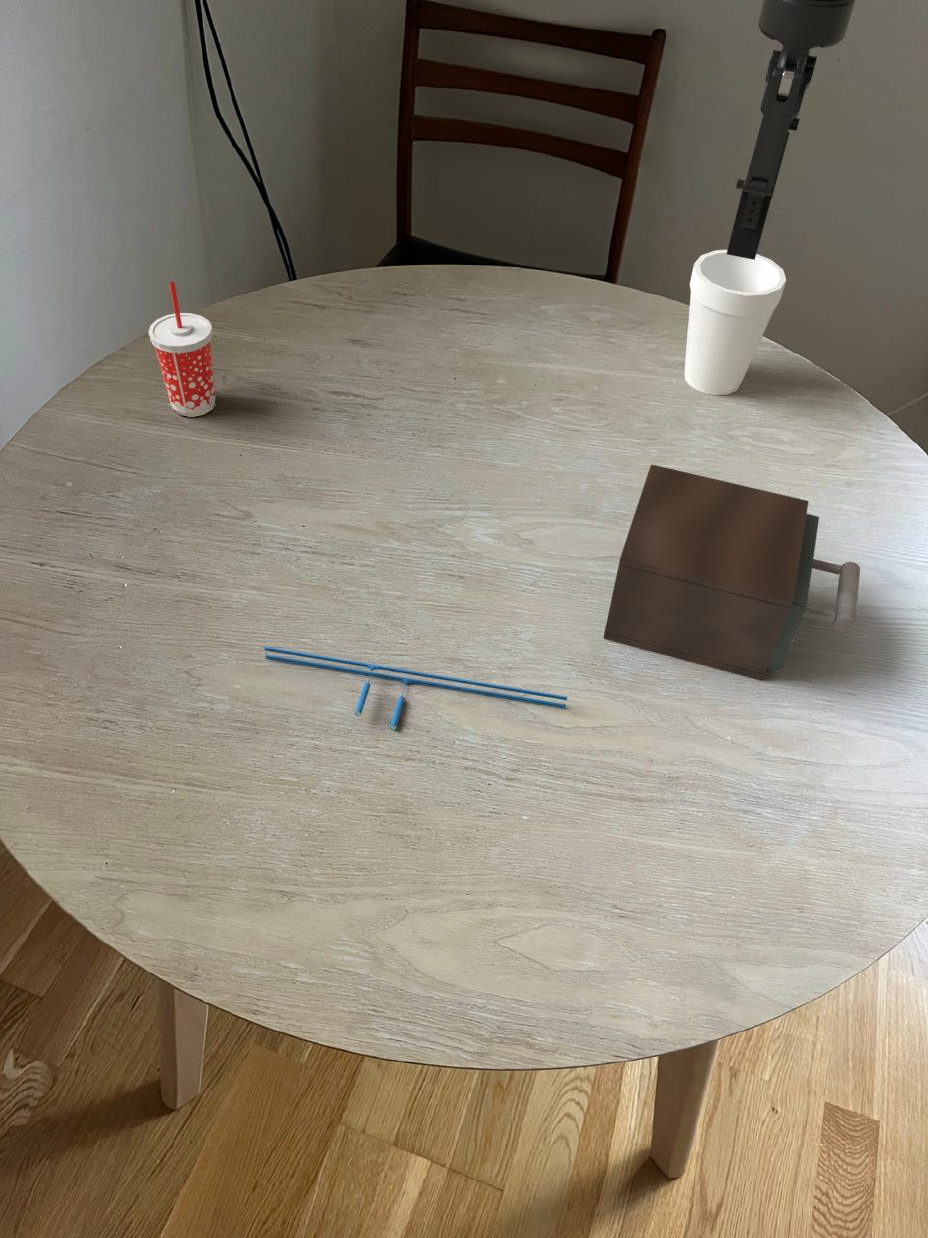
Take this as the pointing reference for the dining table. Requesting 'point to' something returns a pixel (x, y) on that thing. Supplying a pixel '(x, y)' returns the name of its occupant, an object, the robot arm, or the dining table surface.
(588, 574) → the dining table surface
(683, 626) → the cabinet
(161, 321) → the beverage cup
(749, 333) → the foam cup
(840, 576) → the drawer
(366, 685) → the bar handle
